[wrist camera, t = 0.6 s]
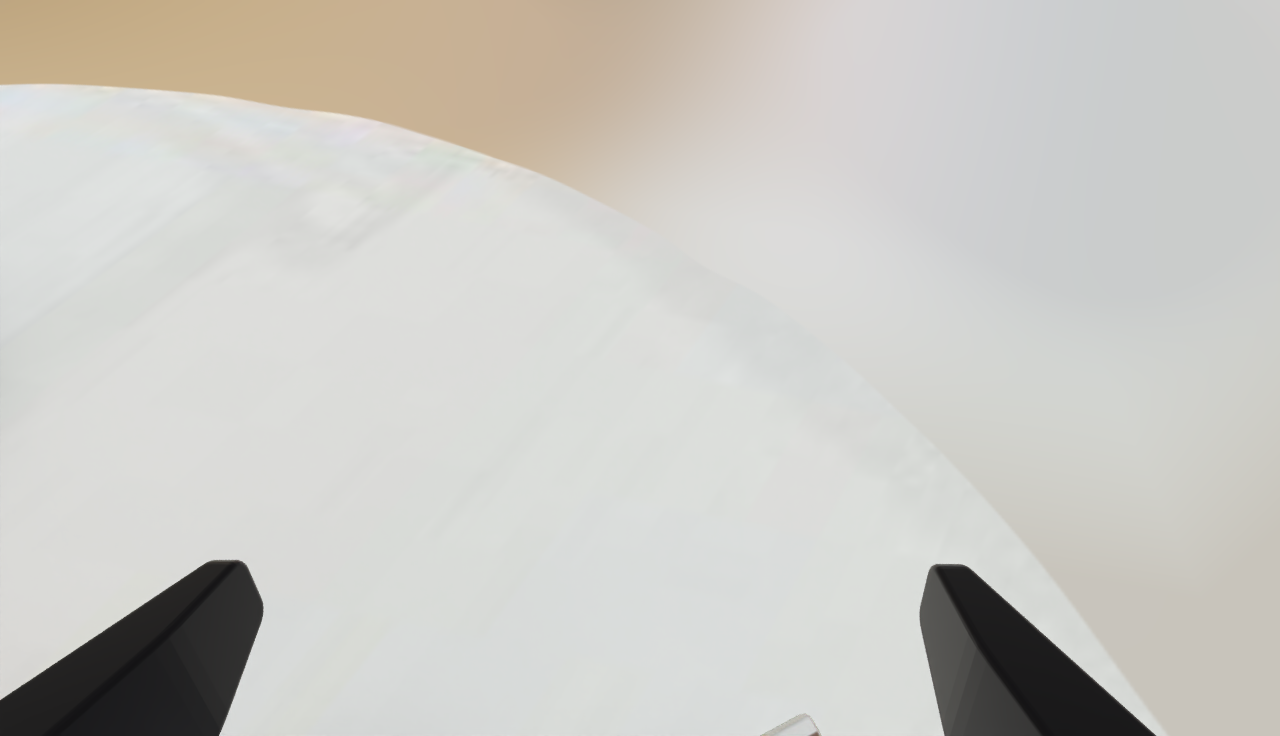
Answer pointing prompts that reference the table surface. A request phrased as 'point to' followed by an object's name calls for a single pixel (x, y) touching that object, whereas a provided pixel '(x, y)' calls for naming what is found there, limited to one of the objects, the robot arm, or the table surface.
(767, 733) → the skincare box
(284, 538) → the table surface
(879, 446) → the table surface
